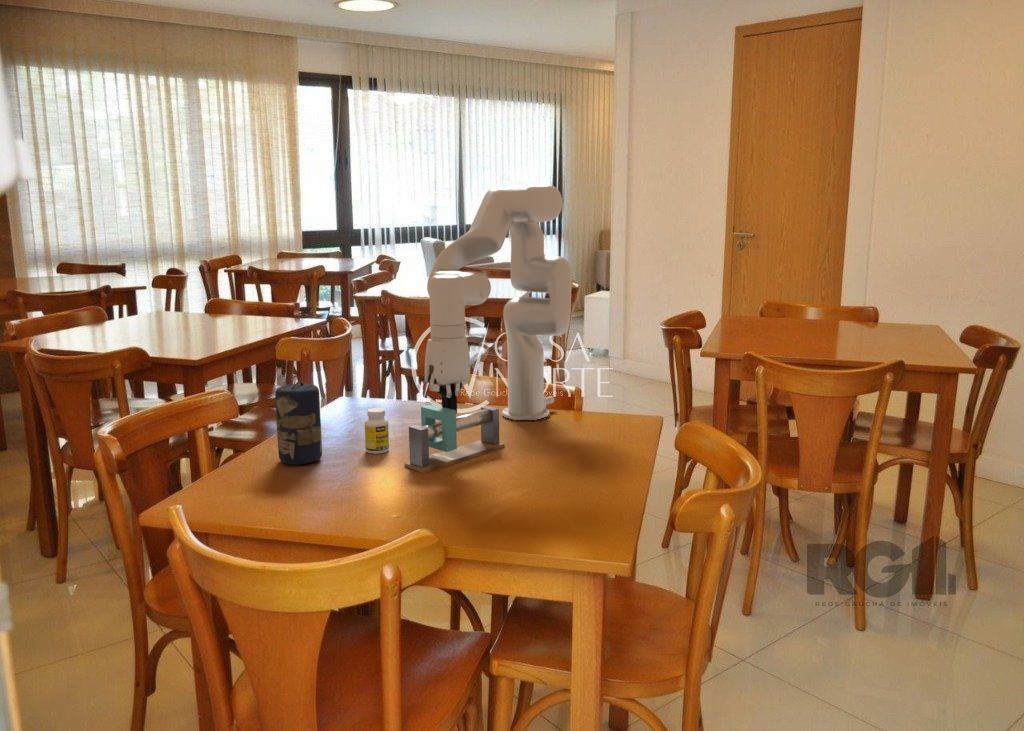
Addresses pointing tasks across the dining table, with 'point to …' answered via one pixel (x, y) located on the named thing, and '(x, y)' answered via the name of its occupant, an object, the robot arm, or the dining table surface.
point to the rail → (484, 417)
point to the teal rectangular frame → (448, 426)
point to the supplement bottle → (376, 431)
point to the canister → (298, 423)
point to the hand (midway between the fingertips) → (449, 413)
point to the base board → (456, 455)
